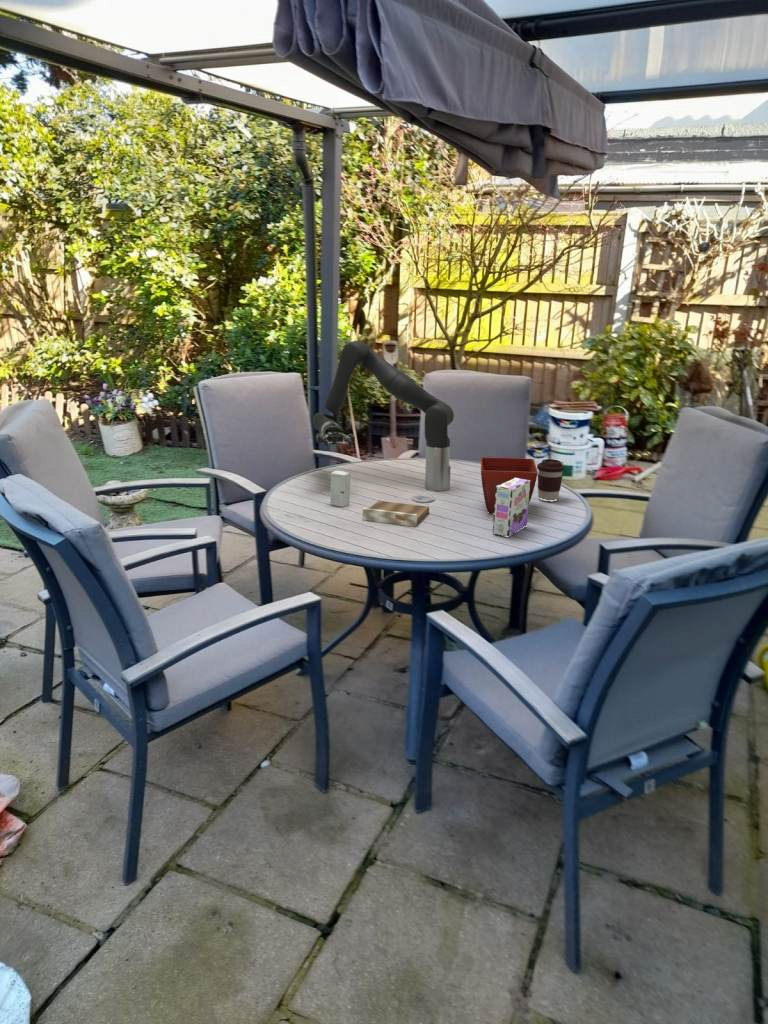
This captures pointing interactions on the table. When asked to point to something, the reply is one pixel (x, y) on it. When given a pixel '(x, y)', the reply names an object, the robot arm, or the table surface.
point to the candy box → (511, 506)
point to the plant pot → (505, 475)
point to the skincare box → (340, 488)
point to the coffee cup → (549, 478)
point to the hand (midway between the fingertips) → (338, 443)
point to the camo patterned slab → (396, 513)
